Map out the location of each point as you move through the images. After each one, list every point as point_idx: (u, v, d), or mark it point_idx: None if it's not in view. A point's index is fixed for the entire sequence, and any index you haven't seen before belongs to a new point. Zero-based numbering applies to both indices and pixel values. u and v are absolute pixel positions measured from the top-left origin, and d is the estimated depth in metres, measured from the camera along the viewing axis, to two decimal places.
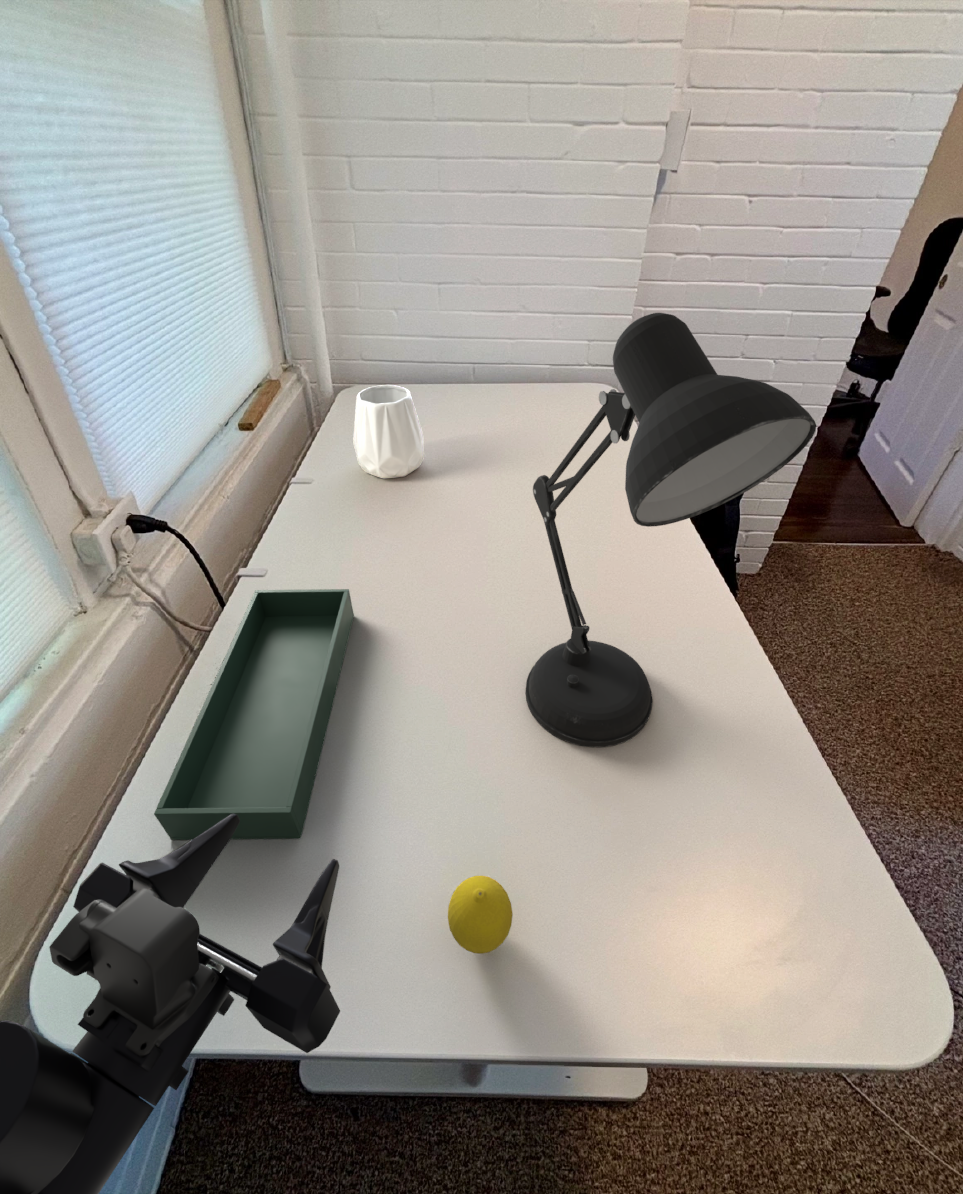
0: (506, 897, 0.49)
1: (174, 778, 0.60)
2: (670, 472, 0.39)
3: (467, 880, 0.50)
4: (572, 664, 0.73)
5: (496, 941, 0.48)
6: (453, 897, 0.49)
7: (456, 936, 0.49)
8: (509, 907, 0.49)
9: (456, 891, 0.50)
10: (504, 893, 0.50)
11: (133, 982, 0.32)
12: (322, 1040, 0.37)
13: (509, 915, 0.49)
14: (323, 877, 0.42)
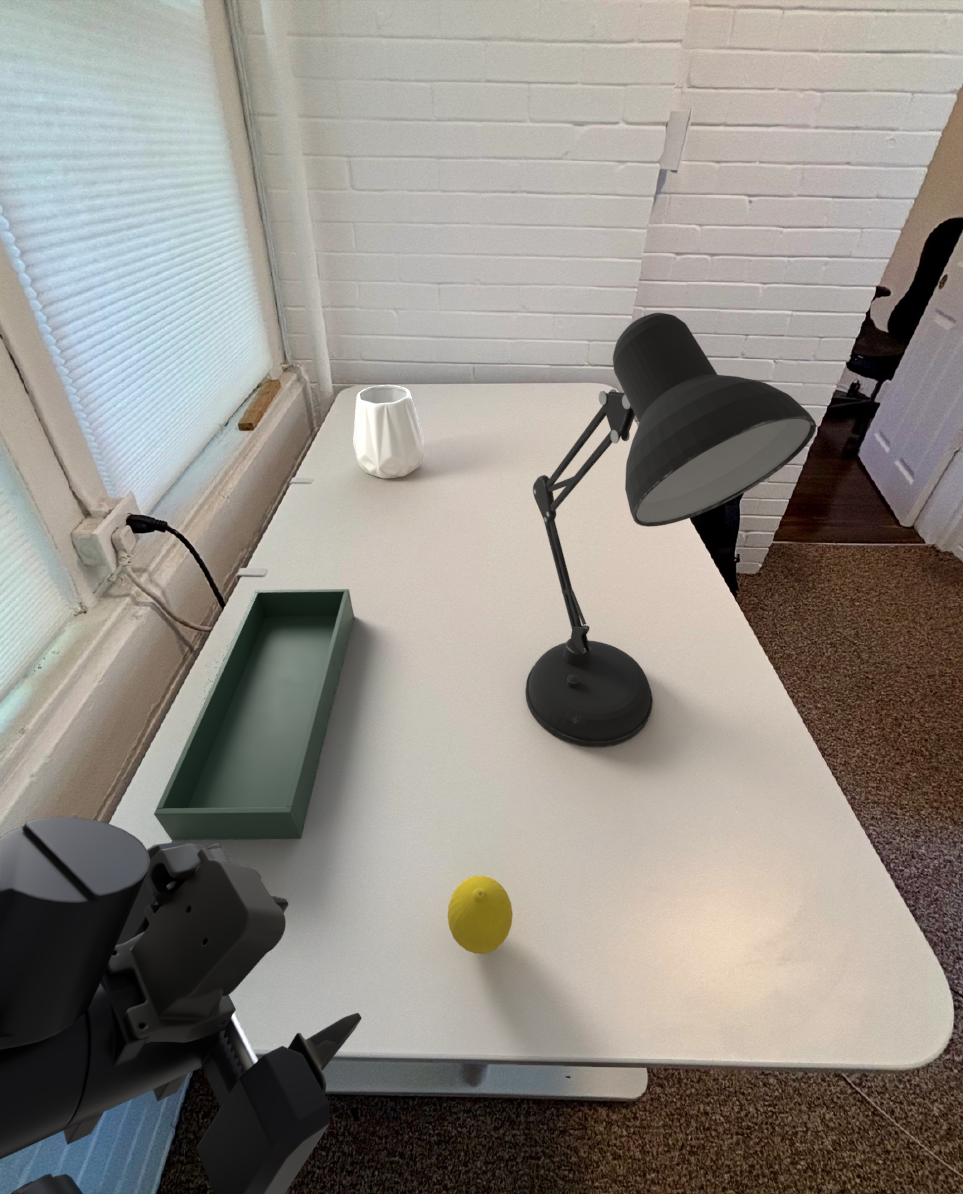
0: (506, 897, 0.49)
1: (174, 778, 0.60)
2: (670, 472, 0.39)
3: (467, 880, 0.50)
4: (572, 664, 0.73)
5: (496, 941, 0.48)
6: (453, 897, 0.49)
7: (456, 936, 0.49)
8: (509, 907, 0.49)
9: (456, 891, 0.50)
10: (504, 893, 0.50)
11: (199, 941, 0.28)
12: None
13: (509, 915, 0.49)
14: (346, 1021, 0.35)
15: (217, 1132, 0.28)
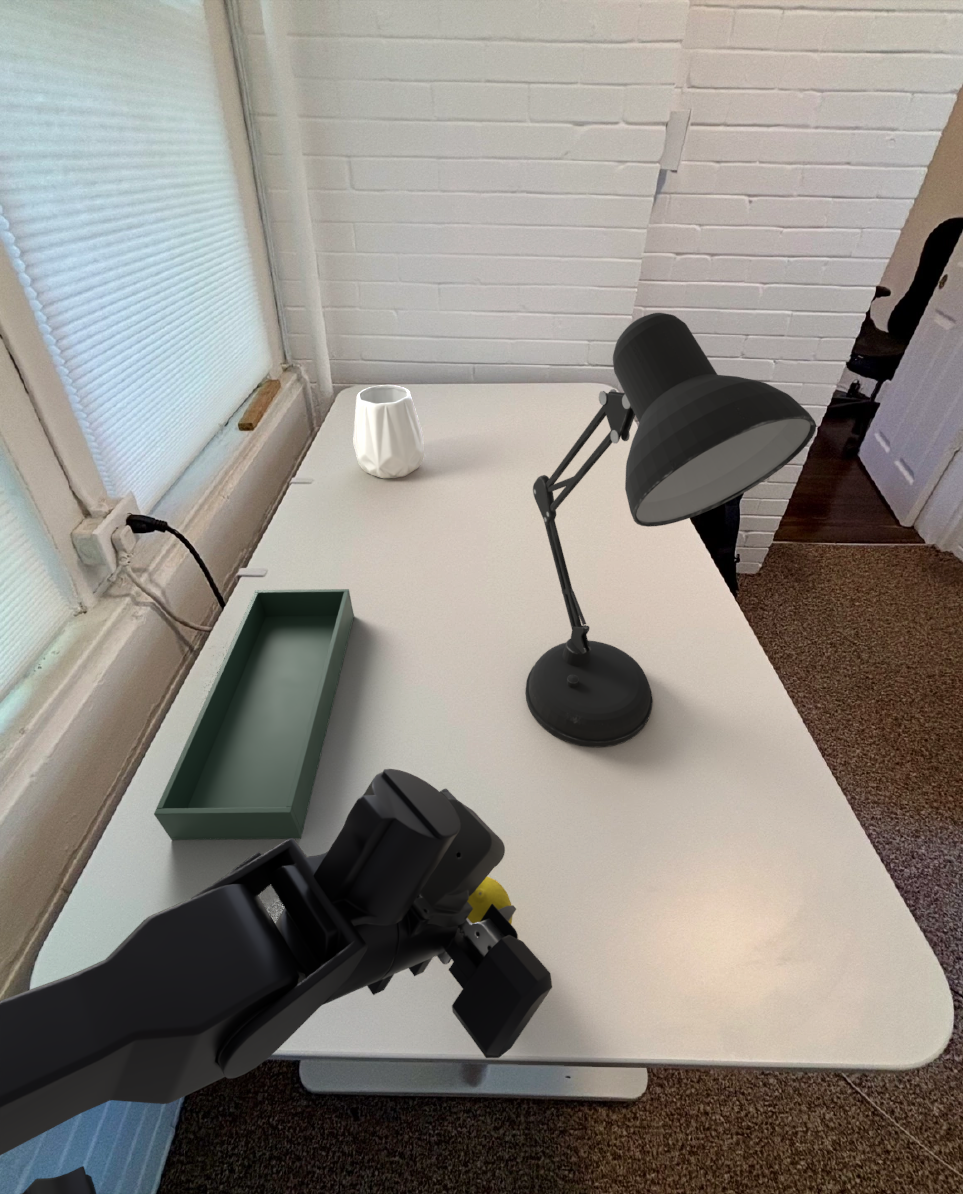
0: (506, 897, 0.49)
1: (174, 778, 0.60)
2: (670, 472, 0.39)
3: None
4: (572, 664, 0.73)
5: None
6: None
7: None
8: None
9: None
10: (504, 893, 0.50)
11: (454, 855, 0.39)
12: (500, 1052, 0.37)
13: None
14: (508, 908, 0.47)
15: (470, 992, 0.38)
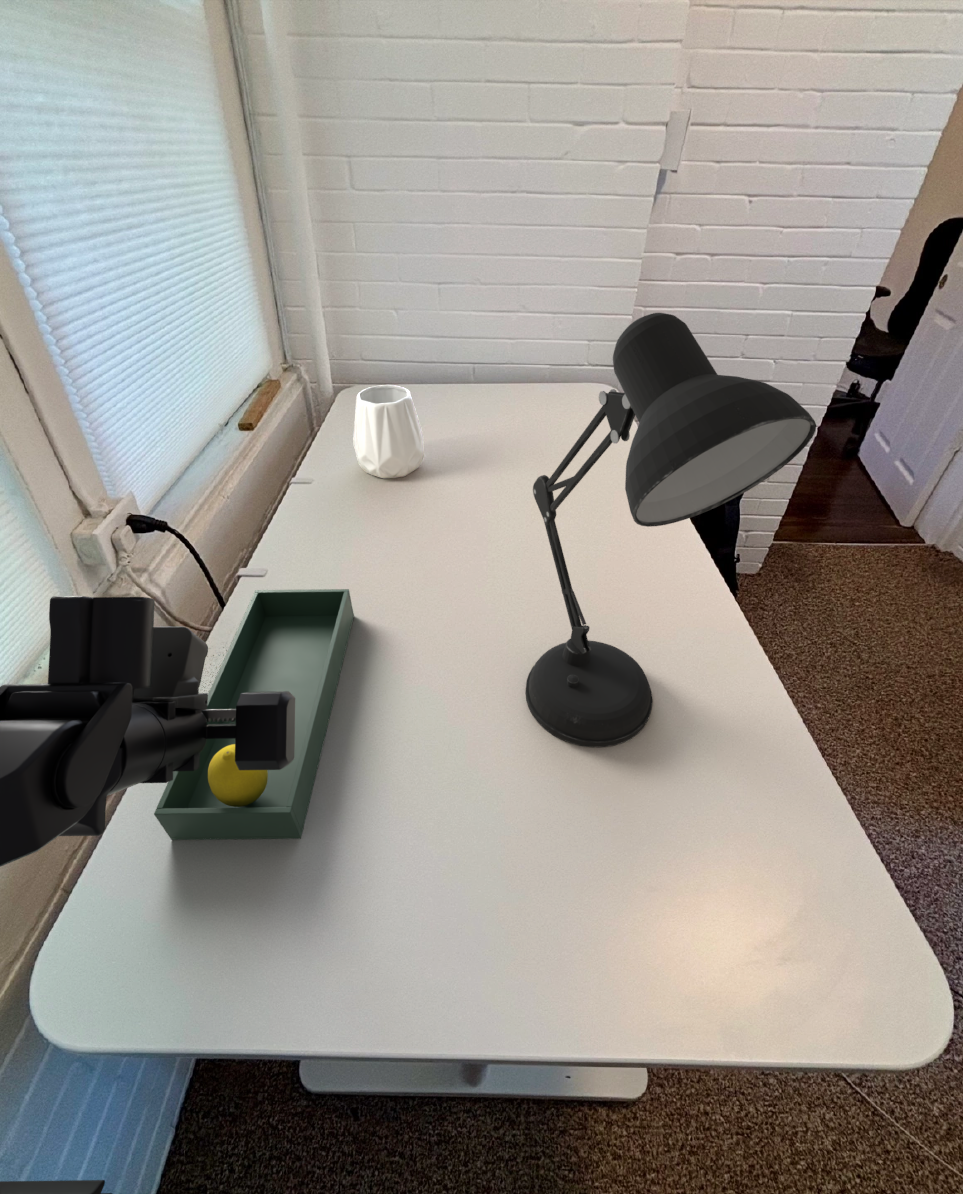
0: None
1: (174, 778, 0.60)
2: (670, 472, 0.39)
3: (212, 758, 0.59)
4: (572, 664, 0.73)
5: (261, 777, 0.60)
6: (209, 775, 0.58)
7: (230, 797, 0.58)
8: None
9: (209, 770, 0.58)
10: None
11: (166, 657, 0.46)
12: (287, 756, 0.48)
13: None
14: None
15: (242, 739, 0.47)
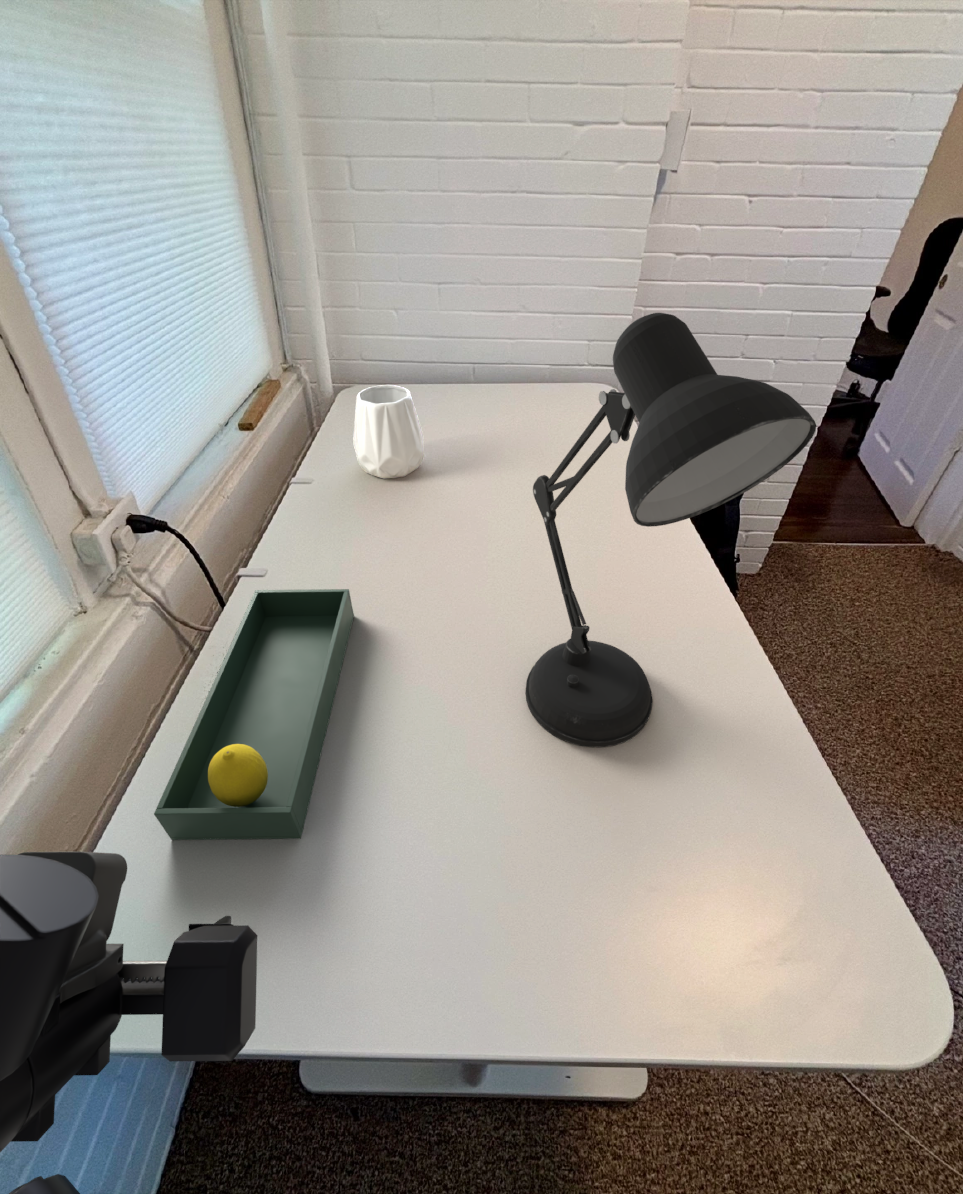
0: (249, 746, 0.61)
1: (174, 778, 0.60)
2: (670, 472, 0.39)
3: None
4: (572, 664, 0.73)
5: (261, 777, 0.60)
6: (209, 775, 0.58)
7: (230, 797, 0.58)
8: (256, 751, 0.61)
9: (209, 769, 0.58)
10: (246, 745, 0.61)
11: None
12: (242, 1039, 0.32)
13: (259, 755, 0.61)
14: (221, 921, 0.40)
15: (173, 1020, 0.31)
